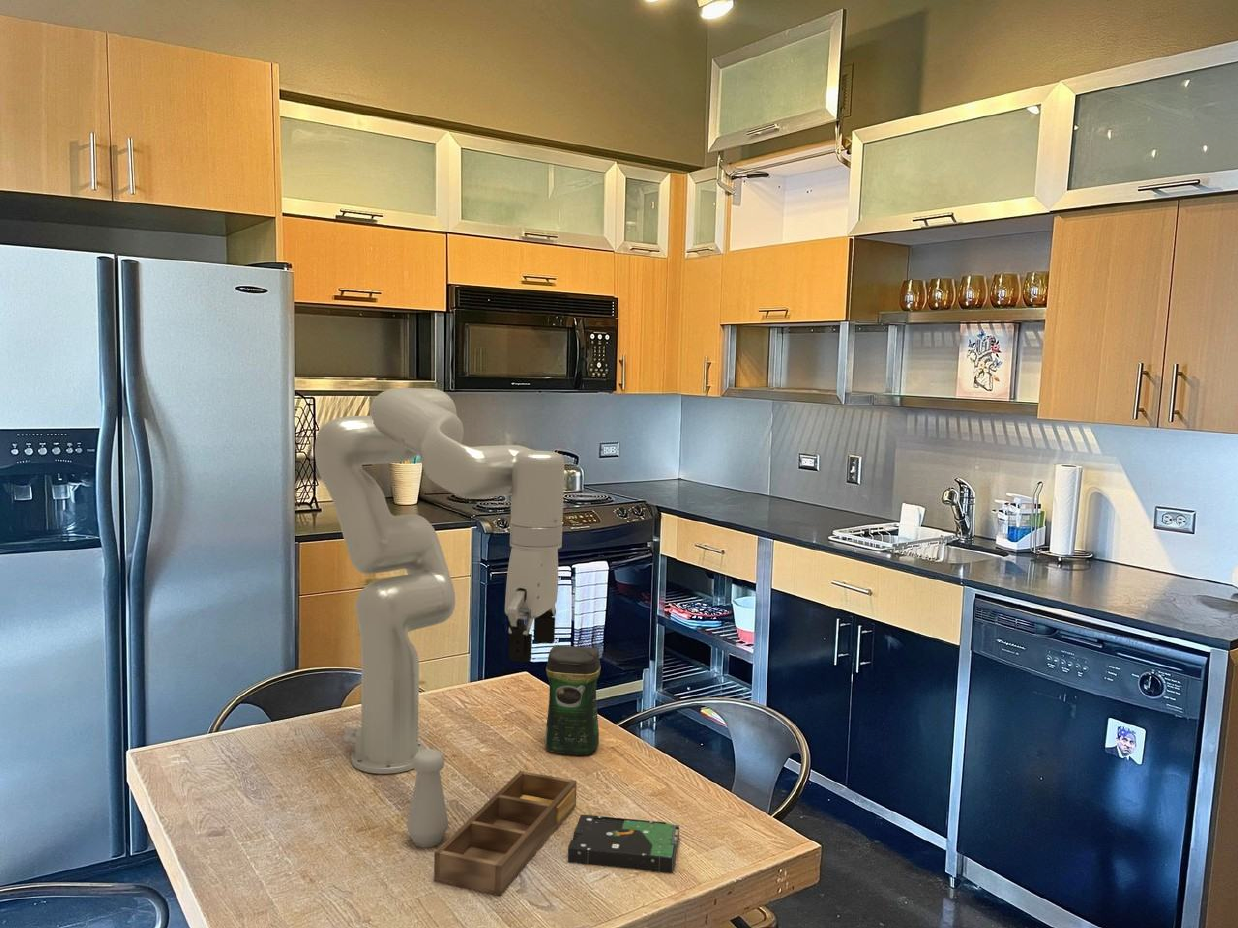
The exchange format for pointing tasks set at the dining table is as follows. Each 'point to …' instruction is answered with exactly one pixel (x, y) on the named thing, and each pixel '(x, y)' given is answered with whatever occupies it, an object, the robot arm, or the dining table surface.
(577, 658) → the coffee jar
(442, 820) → the salt shaker
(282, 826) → the dining table surface
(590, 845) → the disk drive
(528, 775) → the wooden compartment tray
